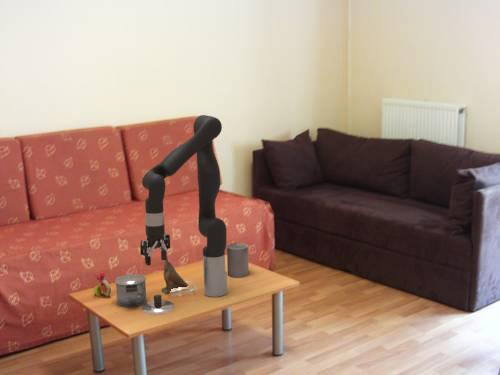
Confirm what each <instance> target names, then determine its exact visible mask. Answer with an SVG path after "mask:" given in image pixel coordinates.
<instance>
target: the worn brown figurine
mask: <svg viewBox="0 0 500 375" xmlns="http://www.w3.org/2000/svg"><path fill="white" fill-rule="evenodd" d="M164 261H165V262H164V263H163V279H164V281H165V287H163V288H161V293H163V294H165V295H170V294H169V293H170V291H171V289H173V288H178V287H187V286H188V285H189V284H188V283H187V282H186V281H185V280H184V278H182V277H181V276H180V275H179V273H178V272H177V270H176V269H175V267H174V266H173V264H172V263H171V262H170V261H169V259H168V257H167V258H166V260H164Z"/></svg>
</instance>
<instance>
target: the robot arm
mask: <svg viewBox="0 0 500 375" xmlns="http://www.w3.org/2000/svg"><path fill="white" fill-rule="evenodd" d="M222 125H223V124H222V122H221V120H220V119H219V118H217V117H216V116H212V115H206V114H201V115H199V116H197V117H196V119H195V120H194V122H193V135H192V136H191V137H190V138H189V139H188V140H186V141H185V142H183V143H182V144H180V145H179V146H177V147H176V148H174V149H173V150H171V151H170V152H169V154H167V155H166V156H165V157H164V158H163V160H161V162H160V163H158V164H156V165H155V166H154V167H152V168H151V169H149V170H148V171H147V172H146V173H145V174H144V175H143V177H142V180H141V184H142V186H143V187H144V189H146V190H148V195H147V196H148V197H146V199H145V202H144V204H145V214H144V215H145V216H144V220H145V221H144V223H145V224H144V226H145V236H146V237H147V238H146V240H140V250H139V252H140V253H139V254H140V255H141V256H142V257H143V256H144V264H145V265H146V266H151V265H152V259H151V258H152V257H151V254H152V253H153V252H154V250H156V249H157V248H158V249H160V250H161V251H160V257H161V258H160V259H161V260H162V261H165V260H166V258H168V254H167V252H168V250H169V249H171V247H172V246H171V235H170V234H167V233H165V230H166V229H165V227H166V226H165V214H164V199H165V194H166V180H165V179H166V178H168V177H172V176H174V175H175V174H176V173H177V172H178V171H179V170H180V169H181V168H182V167H183V166H184V165H185V164H186V163H187V162H188V161H189V160H190V159H191V158H192V157H193V156H195V154H196V166H197V167H196V169H197V171H196V172H197V173H196V174H197V185H198V186H197V187H198V223H197V224H198V227H197V228H198V231H199V232H198V233H200V235H201V236H203V237H204V238H206V246H204V247H203V248H202V260H203V261H202V266H203V289H204V296H207V297H211V298H212V297H213V298H216V297H217V298H218V297H221V296H225V295H228V278H227V277H228V272H226V271H227V270H226V250H227V225H226V223H225V221H224V220H222V219H221V218H219V217H217V215H216V199H217V197H218V195H219V193H220V192H219V191H220V188H221V172H220V170H221V169H220V166H219V163H218V160H217V158H216V154H215V152H214V146H213V140H215V139H216V138H217V137H218V136H220V134H221V132H222V128H223V126H222Z"/></svg>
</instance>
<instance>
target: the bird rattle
mask: <svg viewBox="0 0 500 375" xmlns="http://www.w3.org/2000/svg"><path fill="white" fill-rule="evenodd" d="M93 276H94V277H96V280H97V281H99V282H98V283H99V284H98V285H95V286H94V291H93V295H96V296H97V297H100V296H101V294H103V295H105V296H106V298H109V297H111V292H112V288H111V285H110V283H109V282H108V280H107V279H106V278H105V276H106V274H105V270H103V271H101V273H100V274H99V275H97V274H94V275H93Z"/></svg>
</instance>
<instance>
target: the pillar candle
mask: <svg viewBox="0 0 500 375" xmlns="http://www.w3.org/2000/svg"><path fill="white" fill-rule="evenodd" d="M226 257H227V258H226V259H227V261H226V264H227V277H228V276H229V277H230V278H234V279H235V278H237V279H240V278H245V277H247V276H249V272H250V271H249V270H250V268H249V245H248V244H247V243H245V242H232V243H229V244H226Z"/></svg>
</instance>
